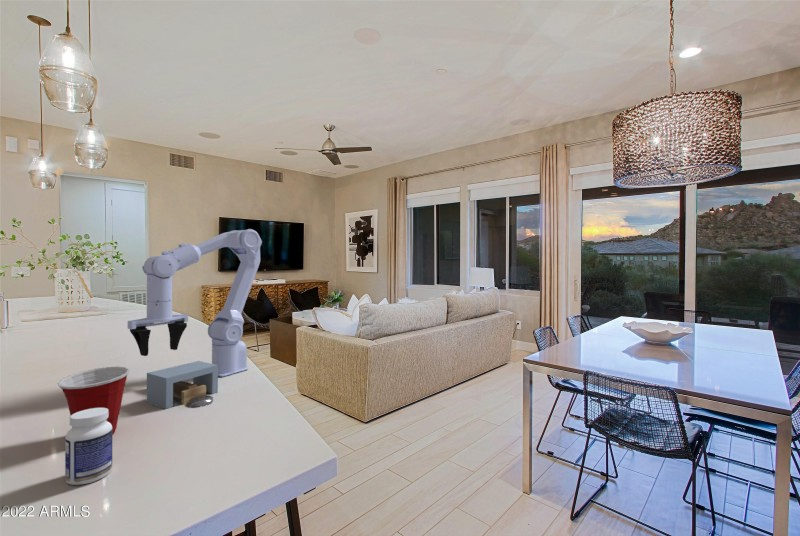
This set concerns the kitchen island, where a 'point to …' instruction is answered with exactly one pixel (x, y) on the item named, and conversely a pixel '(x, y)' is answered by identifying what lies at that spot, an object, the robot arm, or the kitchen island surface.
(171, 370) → the low shelf
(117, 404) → the plastic cup
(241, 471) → the kitchen island surface
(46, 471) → the kitchen island surface
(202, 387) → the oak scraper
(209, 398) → the steel token
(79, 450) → the pill bottle
